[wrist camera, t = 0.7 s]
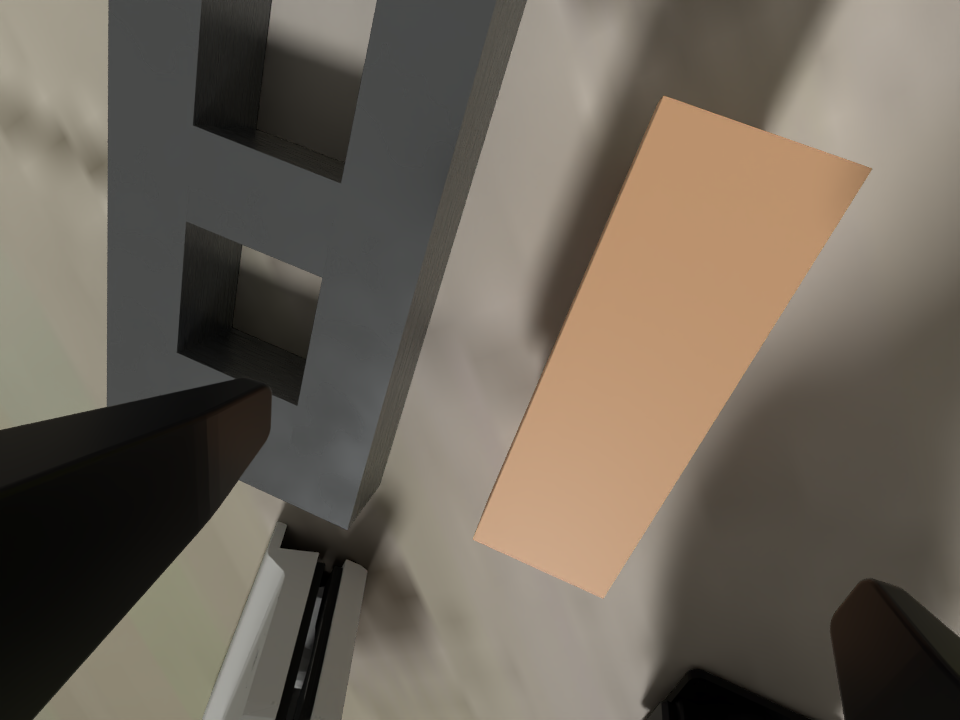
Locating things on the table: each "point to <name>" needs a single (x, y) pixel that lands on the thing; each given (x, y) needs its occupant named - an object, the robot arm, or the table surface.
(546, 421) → the tan wooden plank
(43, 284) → the table surface
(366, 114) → the gray slotted slab
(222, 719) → the grey upright panel
